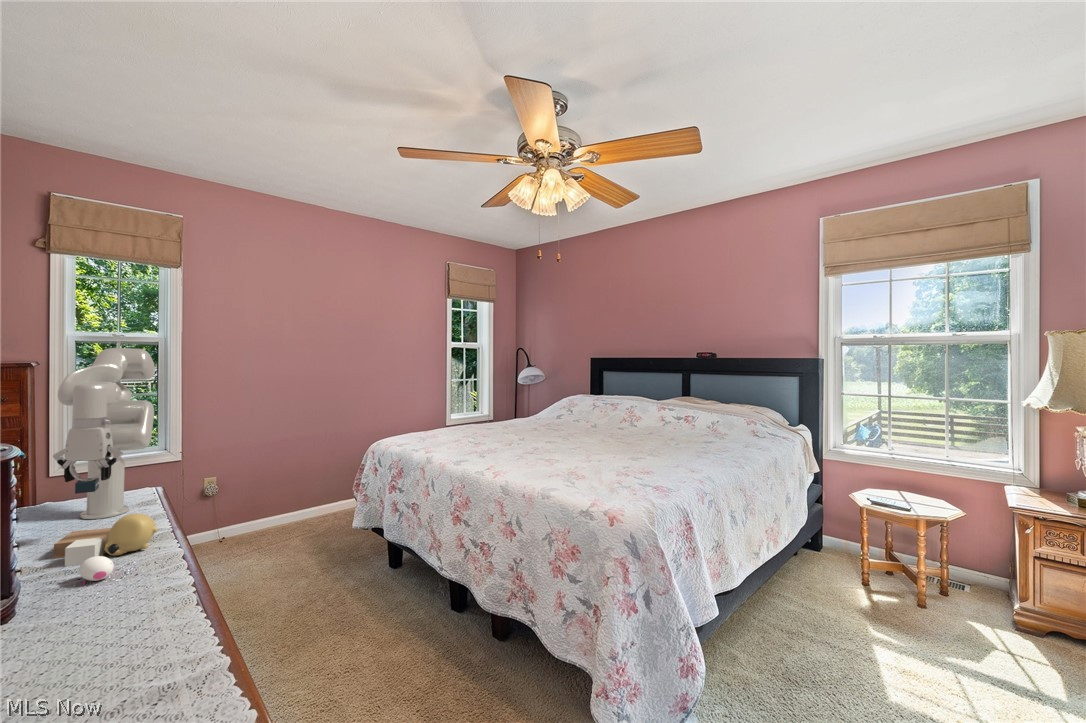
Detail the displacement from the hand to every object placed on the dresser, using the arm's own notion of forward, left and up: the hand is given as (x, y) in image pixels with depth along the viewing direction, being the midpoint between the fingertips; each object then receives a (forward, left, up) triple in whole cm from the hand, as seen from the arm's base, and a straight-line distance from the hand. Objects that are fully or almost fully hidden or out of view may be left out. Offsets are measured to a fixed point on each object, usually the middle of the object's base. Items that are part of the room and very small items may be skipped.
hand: (87, 479), depth 141 cm
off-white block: (+19, +7, -18) cm, 27 cm away
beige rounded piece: (+16, +15, -18) cm, 29 cm away
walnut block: (+10, +4, -18) cm, 21 cm away
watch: (0, 0, -3) cm, 3 cm away
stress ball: (+34, +15, -18) cm, 41 cm away
